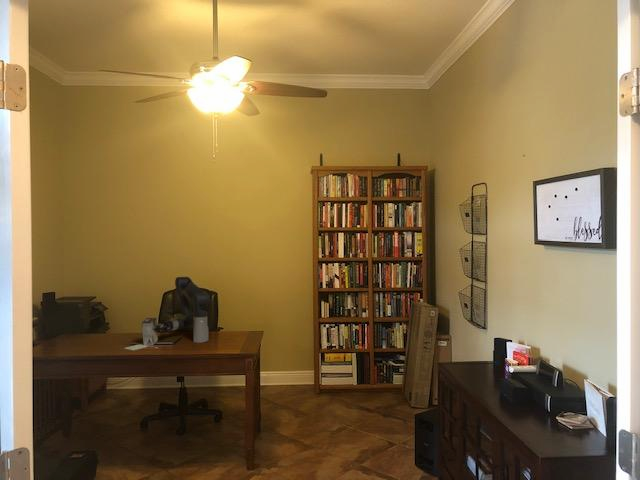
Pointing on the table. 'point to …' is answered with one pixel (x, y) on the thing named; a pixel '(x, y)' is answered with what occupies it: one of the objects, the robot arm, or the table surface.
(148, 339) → the coffee box
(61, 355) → the table surface
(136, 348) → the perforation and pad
